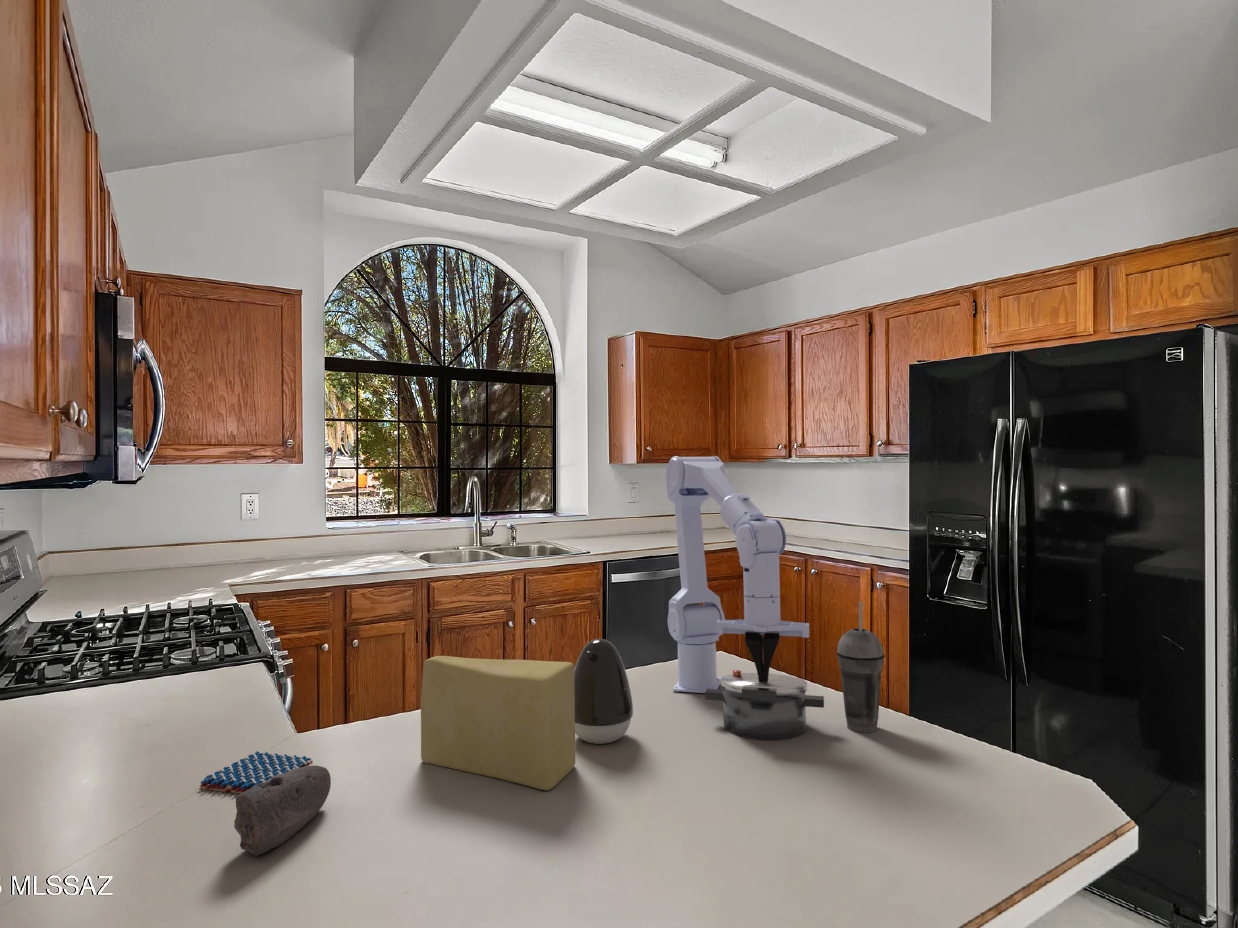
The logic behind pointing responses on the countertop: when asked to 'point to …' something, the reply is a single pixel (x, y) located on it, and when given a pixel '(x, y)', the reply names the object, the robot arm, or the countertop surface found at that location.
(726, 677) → the cooker lid
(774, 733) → the cooker pot
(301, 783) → the perforated stone tool
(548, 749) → the cheese
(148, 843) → the countertop surface
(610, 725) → the black white egg shape
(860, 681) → the beverage cup
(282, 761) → the woven mat
